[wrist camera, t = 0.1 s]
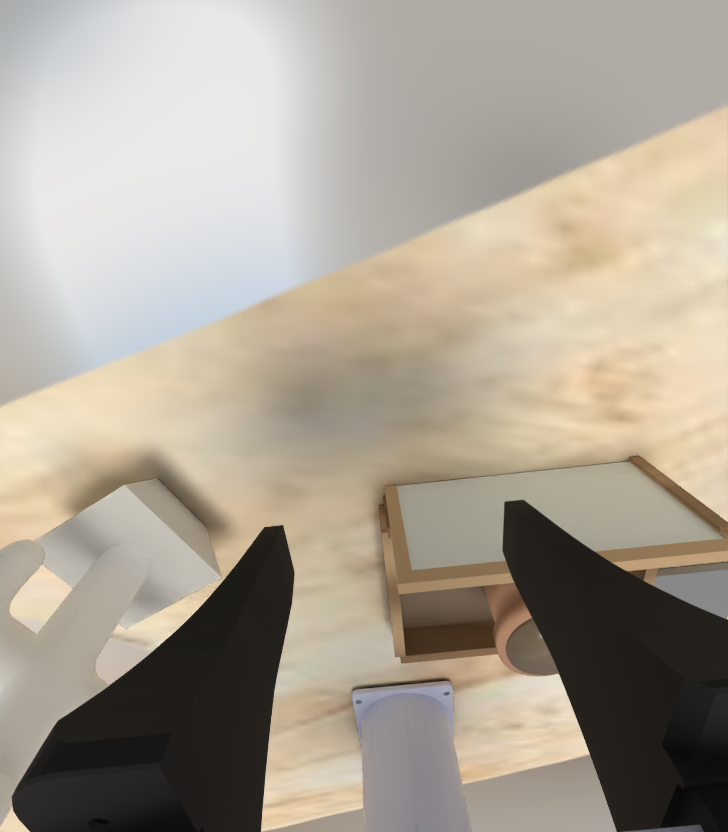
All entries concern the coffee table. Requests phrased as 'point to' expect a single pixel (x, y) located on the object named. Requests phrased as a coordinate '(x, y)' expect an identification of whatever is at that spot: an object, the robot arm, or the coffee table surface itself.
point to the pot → (517, 632)
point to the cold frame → (476, 597)
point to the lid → (557, 500)
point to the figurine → (89, 607)
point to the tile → (698, 586)
